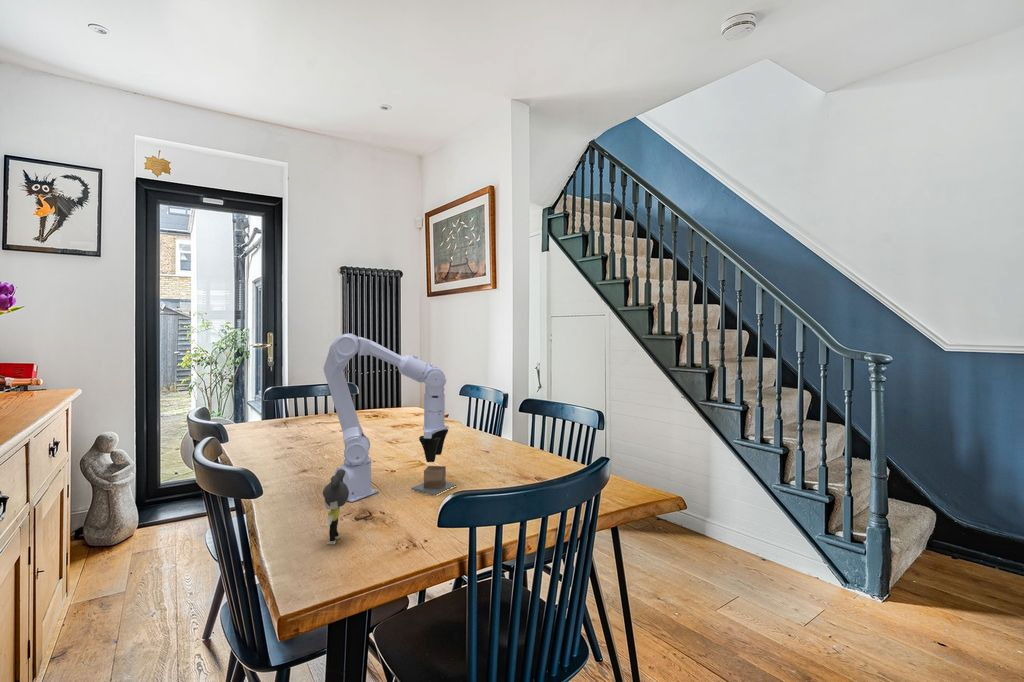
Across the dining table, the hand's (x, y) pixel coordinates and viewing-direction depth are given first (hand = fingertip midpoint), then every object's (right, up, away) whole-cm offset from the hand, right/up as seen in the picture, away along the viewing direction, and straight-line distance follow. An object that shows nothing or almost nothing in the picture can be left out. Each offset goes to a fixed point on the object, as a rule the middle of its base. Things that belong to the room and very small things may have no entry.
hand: (434, 458), depth 142 cm
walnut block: (0, -8, 0) cm, 8 cm away
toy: (-16, -10, -34) cm, 39 cm away
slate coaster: (0, -9, 0) cm, 9 cm away
